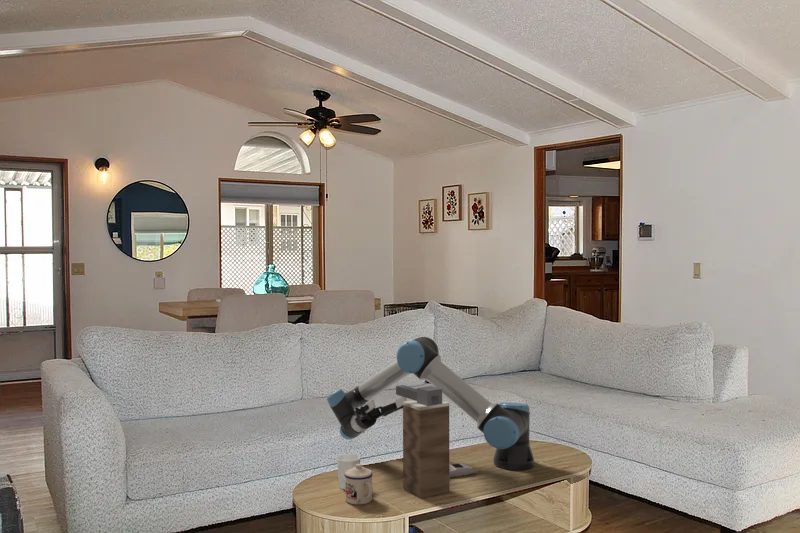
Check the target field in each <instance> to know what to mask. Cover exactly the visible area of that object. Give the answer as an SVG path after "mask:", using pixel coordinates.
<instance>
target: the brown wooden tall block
mask: <svg viewBox="0 0 800 533" xmlns="http://www.w3.org/2000/svg"><path fill="white" fill-rule="evenodd" d="M449 465H450V402H449V401H445V400H442V404H438V405H432V406H425V405H422V404H419V403H417V401H415V400H412V399H410V400H407V401H405V402H403V408H402V476H403V477H402V482H403V483H402V490H403V491H404V492H406V493H408V494H411V495H412V496H414V497H416V498H418V499H420V500H421V499H426V498H429V497H433V496H437V495H441V494H445V493H449V492H450V477H449Z"/></svg>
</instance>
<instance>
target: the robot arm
mask: <svg viewBox="0 0 800 533" xmlns="http://www.w3.org/2000/svg"><path fill="white" fill-rule="evenodd" d="M439 352H440V351H439V347H438V345H437V343H436V341H434V339H432V338H430V337H427V336H420V337H417V338H414V339H410V340H407V341H405V342H403V343H402V344H401V345H400V346H399V348H398V349H397V351H396V360H394V361H392V362H391V363H390V364H388V365H387V366H385V367H384V368H382V369H381V370H380V371H378V372H377V373H375V374H374V375H371V377H369V378H367V379H366V380H365V381H363V382H362V383H360V384H359V385H357V386H356V387H354V388H353V389H351V390H350V391H347V392H345V391H344V389H341V388H340V389H337V390H335V391H333V392H332V393H331V394H329V395H328V396H327V397H326V401H327V403H328V405H329V407H330V409H331V410H332V412H333V413H334V414H333V415H334V416H335V417H336V418H337V420H338V422H339V424H340V426H339V434H340V436H341V437H342V438H343V439H345V440H349V441H350V440H353V439H355V438H357V437H359V436H360V435H361V434H364V433H365V431H367V430H368V429H369V428H371V427H373V426H374V425H376V423H377V420H378V419H379V418H381V417H387V416H389V415H390V414H392V413H394V412H397V411H399V410H403V402H405V401H408V400H407V398H406V397H402V396H400V397H399V398H397V399H396V400H395V401H394V402H392V403H389V404H387V405H384V406H378V407H376V404H375V400H374V398H375V397H377V396H379V395H380V394H381V393H383V392H384V391H386V390H387V389H389V388H390V387H392V386H393V385H395V384H397V383H398V382H399V381H401V380H403V379H404V378H405V377H407V376H409V375H410V374H413V375H414V376H415V377H417V379H419V380H420V381H425V380H426V381H428V382H429V383H430V384H431V386H432V385H433V387H437V388H441V389H442V395H444V396H445V397H447V398H448V399H449V400H450V401H452V403H454V405H456V407H458V408H459V409H461V410H462V411H463V412H464V413H465V414H467V415H468V416H469V417H470V418H471V419H472V420H473V421H475V423H476V428H477V429H478V430H479V431H480V432H481V433H482V434H483V435H484V436H483V437H484V439H485V441H486V443H487V444H488V445H489V446H491V447H492V448H495V452H494V454H493V465H494V466H496V467H497V468H501V469H504V470H511V471H513V470H514V471H521V470H528V469H531V468H533V467H534V466H535V458H534V454H533V451H532V448H531V445H530V444H531V443H530V422H531V421H530V416H531V415H530V414H531V412H530V407H529V406H530V405H528V404H526V403H521V402H506V401H504V402H499V403H498V402H497V403H494V402H493V403H492V402H490V401H489V400H488V399H487V398H485V397H484V396H483V395H482V394H481V393H479V391H477V390H476V389H475V388H474V387H472V386H471V385H470V384H468V383H467V382H466V381H465V380H464V379H462V378H461V377H460V376H459V375H458V374H456V373H455V372H454V371H453V370H452V369H450V368H449V367H448V366H447V365H446V364H444V363H443V361H442V357H441V355H440V354H439Z"/></svg>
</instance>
